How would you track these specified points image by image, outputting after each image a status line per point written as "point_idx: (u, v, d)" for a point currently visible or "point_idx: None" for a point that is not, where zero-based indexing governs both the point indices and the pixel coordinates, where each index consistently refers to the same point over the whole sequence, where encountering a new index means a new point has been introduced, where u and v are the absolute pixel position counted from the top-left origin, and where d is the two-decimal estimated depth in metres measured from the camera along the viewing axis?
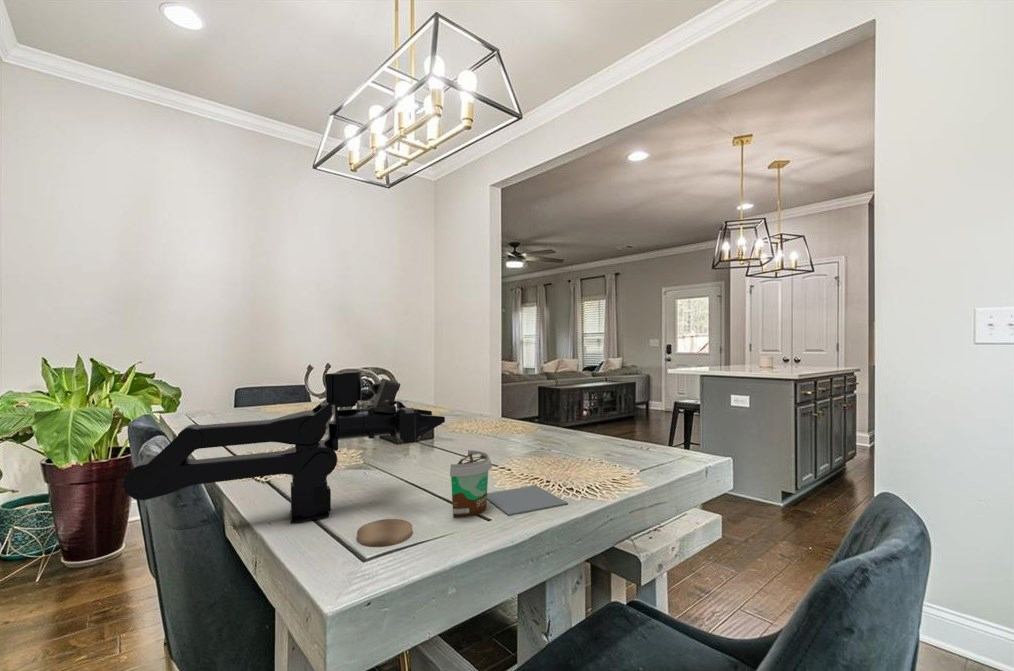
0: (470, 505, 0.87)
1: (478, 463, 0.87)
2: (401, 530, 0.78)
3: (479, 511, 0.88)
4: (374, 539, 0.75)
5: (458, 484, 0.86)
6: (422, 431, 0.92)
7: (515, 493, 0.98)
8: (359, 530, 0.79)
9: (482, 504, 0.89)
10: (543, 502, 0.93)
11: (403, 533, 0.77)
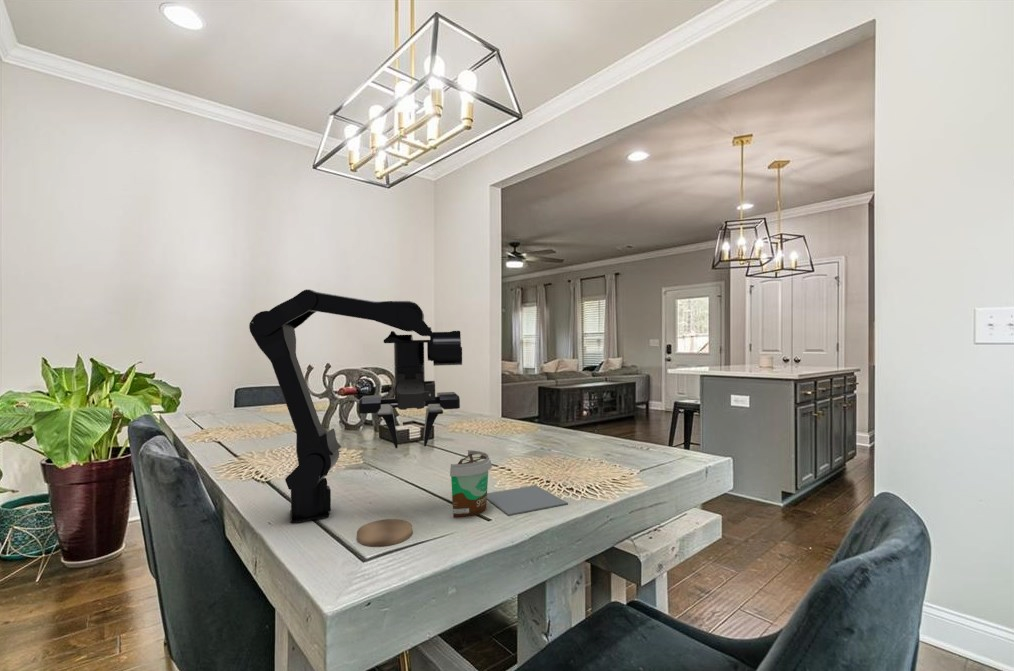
0: (470, 505, 0.87)
1: (478, 463, 0.87)
2: (401, 530, 0.78)
3: (479, 511, 0.88)
4: (374, 539, 0.75)
5: (458, 484, 0.86)
6: None
7: (515, 493, 0.98)
8: (359, 530, 0.79)
9: (482, 504, 0.89)
10: (543, 502, 0.93)
11: (403, 533, 0.77)
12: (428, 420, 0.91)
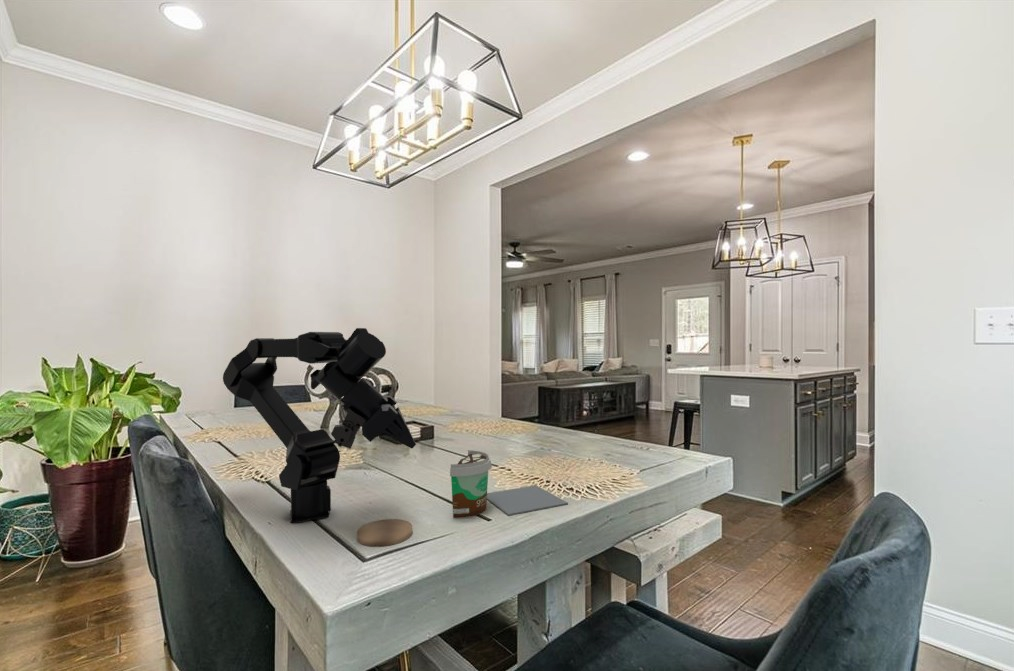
0: (470, 505, 0.87)
1: (478, 463, 0.87)
2: (401, 530, 0.78)
3: (479, 511, 0.88)
4: (374, 539, 0.75)
5: (458, 484, 0.86)
6: None
7: (515, 493, 0.98)
8: (359, 530, 0.79)
9: (482, 504, 0.89)
10: (543, 502, 0.93)
11: (403, 533, 0.77)
12: None
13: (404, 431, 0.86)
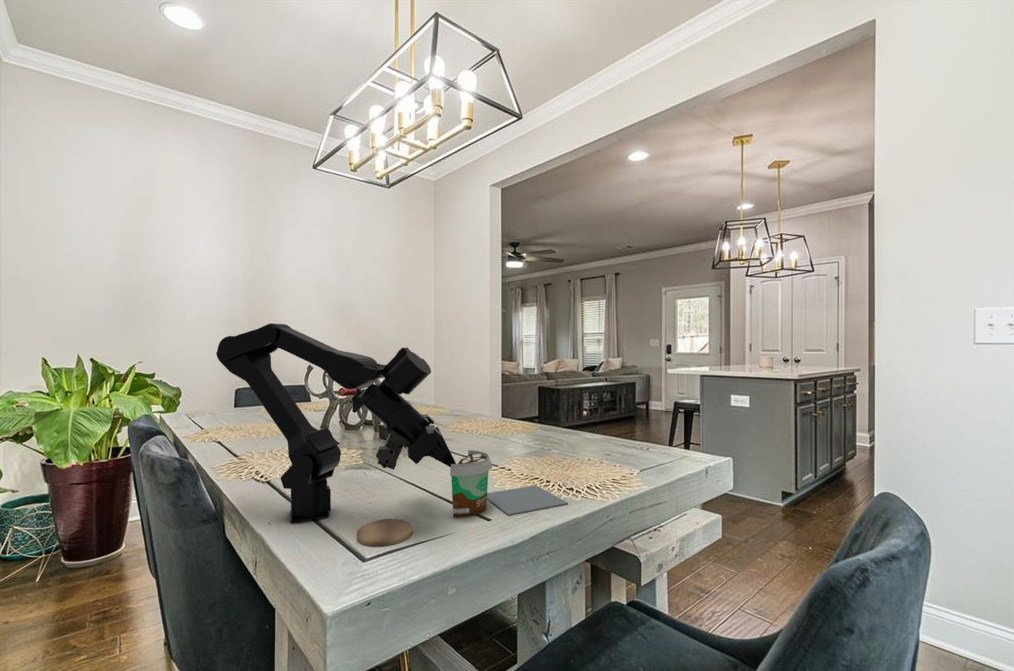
0: (470, 505, 0.87)
1: (478, 463, 0.87)
2: (401, 530, 0.78)
3: (479, 511, 0.88)
4: (374, 539, 0.75)
5: (458, 484, 0.86)
6: None
7: (515, 493, 0.98)
8: (359, 530, 0.79)
9: (482, 504, 0.89)
10: (543, 502, 0.93)
11: (403, 533, 0.77)
12: None
13: (445, 451, 0.87)
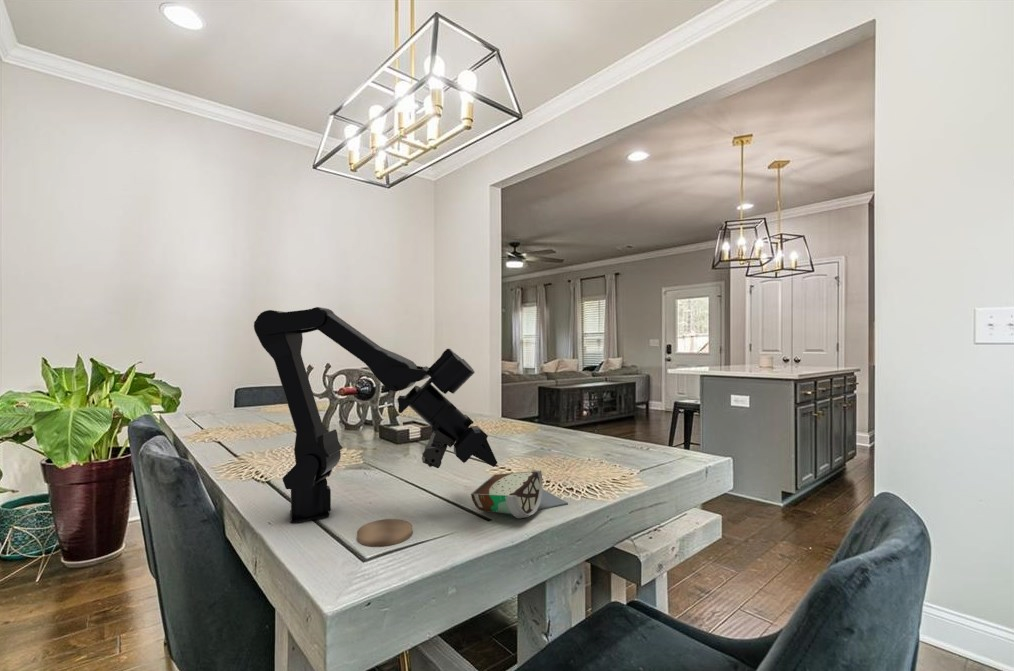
0: (486, 508, 0.86)
1: (526, 514, 0.83)
2: (401, 530, 0.78)
3: None
4: (374, 539, 0.75)
5: (500, 501, 0.83)
6: None
7: None
8: (359, 530, 0.79)
9: None
10: (543, 502, 0.93)
11: (403, 533, 0.77)
12: None
13: (487, 451, 0.89)
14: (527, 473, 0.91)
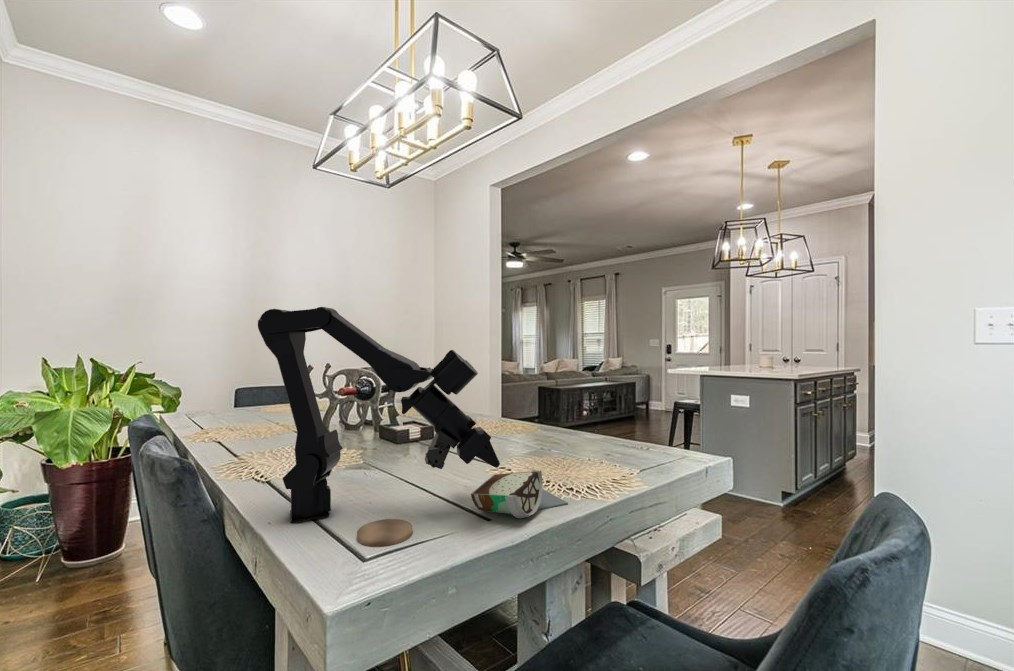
0: (486, 508, 0.86)
1: (526, 514, 0.83)
2: (401, 530, 0.78)
3: None
4: (374, 539, 0.75)
5: (500, 501, 0.83)
6: None
7: None
8: (359, 530, 0.79)
9: None
10: (543, 502, 0.93)
11: (403, 533, 0.77)
12: None
13: (490, 452, 0.90)
14: (527, 473, 0.91)
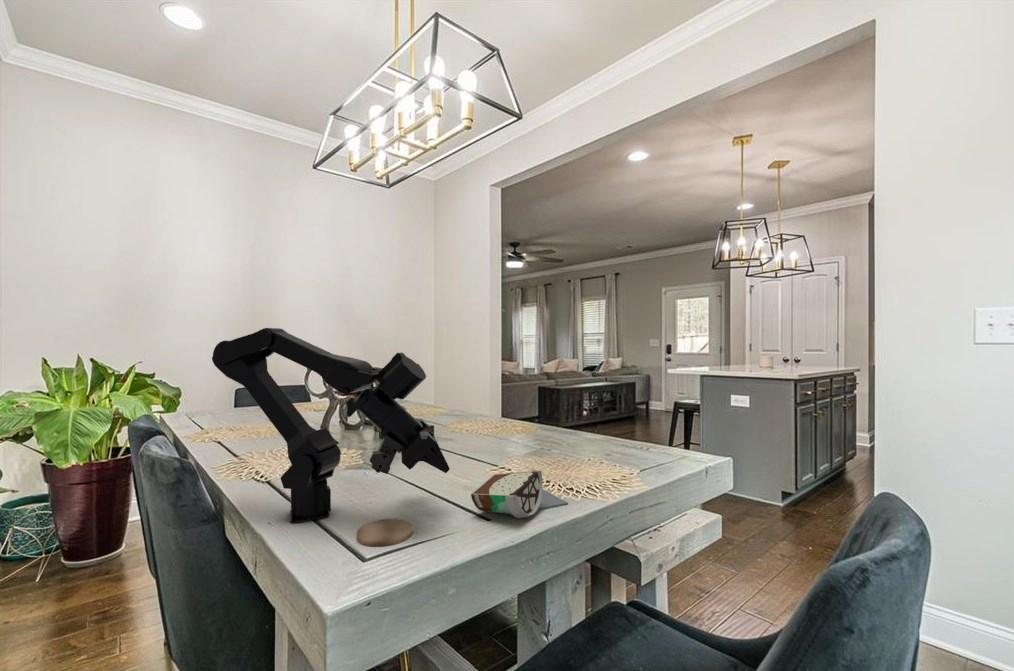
0: (486, 508, 0.86)
1: (526, 514, 0.83)
2: (401, 530, 0.78)
3: None
4: (374, 539, 0.75)
5: (500, 501, 0.83)
6: None
7: None
8: (359, 530, 0.79)
9: None
10: (543, 502, 0.93)
11: (403, 533, 0.77)
12: None
13: (439, 456, 0.87)
14: (527, 473, 0.91)
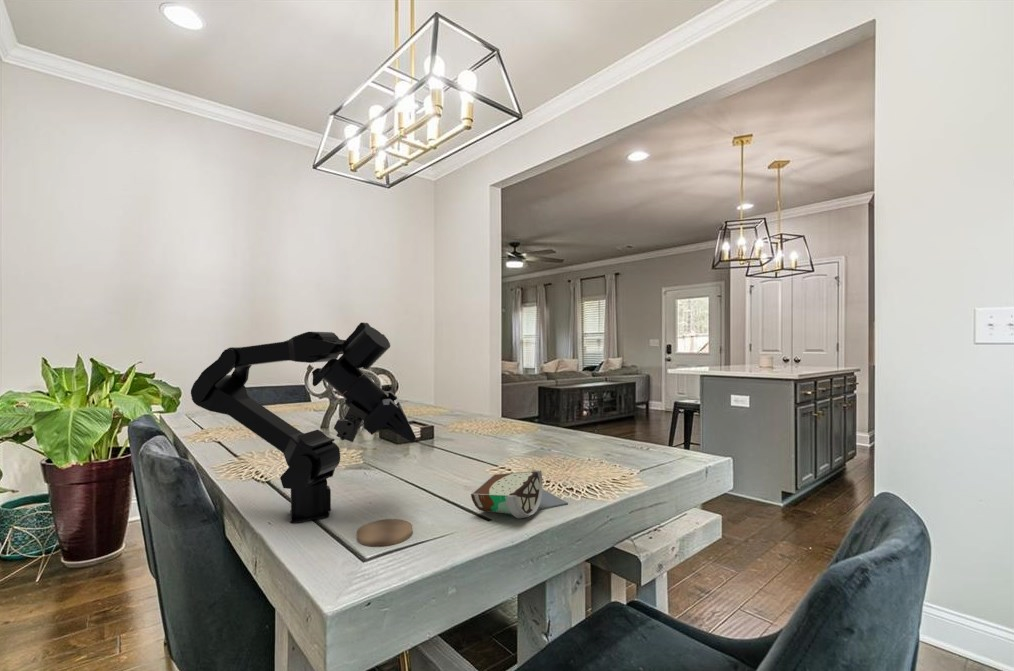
0: (486, 508, 0.86)
1: (526, 514, 0.83)
2: (401, 530, 0.78)
3: None
4: (374, 539, 0.75)
5: (500, 501, 0.83)
6: None
7: None
8: (359, 530, 0.79)
9: None
10: (543, 502, 0.93)
11: (403, 533, 0.77)
12: None
13: (405, 425, 0.88)
14: (527, 473, 0.91)
